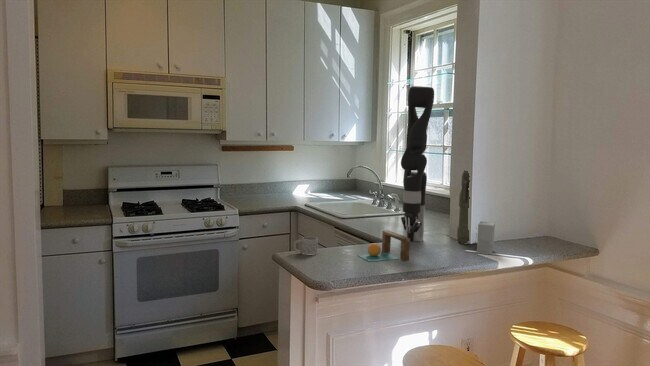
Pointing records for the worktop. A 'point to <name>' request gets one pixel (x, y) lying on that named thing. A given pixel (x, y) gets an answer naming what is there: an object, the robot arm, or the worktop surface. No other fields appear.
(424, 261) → the worktop surface
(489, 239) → the small box
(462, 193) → the olive green statue
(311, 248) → the mug
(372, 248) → the ball
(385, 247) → the bridge
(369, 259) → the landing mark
